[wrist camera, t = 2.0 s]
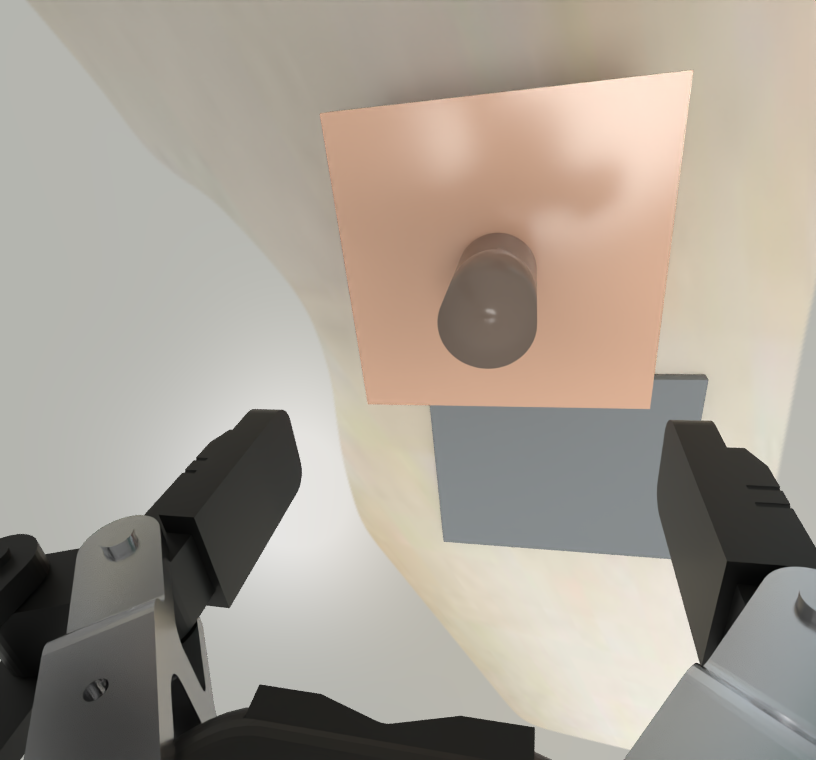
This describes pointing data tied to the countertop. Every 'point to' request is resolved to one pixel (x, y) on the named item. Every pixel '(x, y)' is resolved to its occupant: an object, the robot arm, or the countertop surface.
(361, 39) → the countertop surface
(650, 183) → the lid
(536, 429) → the mat
